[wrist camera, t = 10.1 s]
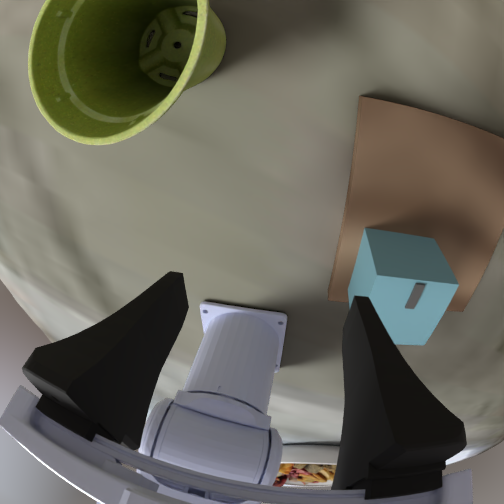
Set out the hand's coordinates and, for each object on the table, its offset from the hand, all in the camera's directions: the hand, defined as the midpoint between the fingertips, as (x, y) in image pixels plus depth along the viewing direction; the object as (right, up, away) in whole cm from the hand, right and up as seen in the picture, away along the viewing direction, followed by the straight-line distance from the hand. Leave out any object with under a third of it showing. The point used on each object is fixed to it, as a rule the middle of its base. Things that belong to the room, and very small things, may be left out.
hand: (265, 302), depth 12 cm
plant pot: (-5, +15, +3) cm, 16 cm away
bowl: (+13, -44, +40) cm, 61 cm away
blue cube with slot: (+9, +1, +7) cm, 12 cm away
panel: (+12, +4, +6) cm, 14 cm away
